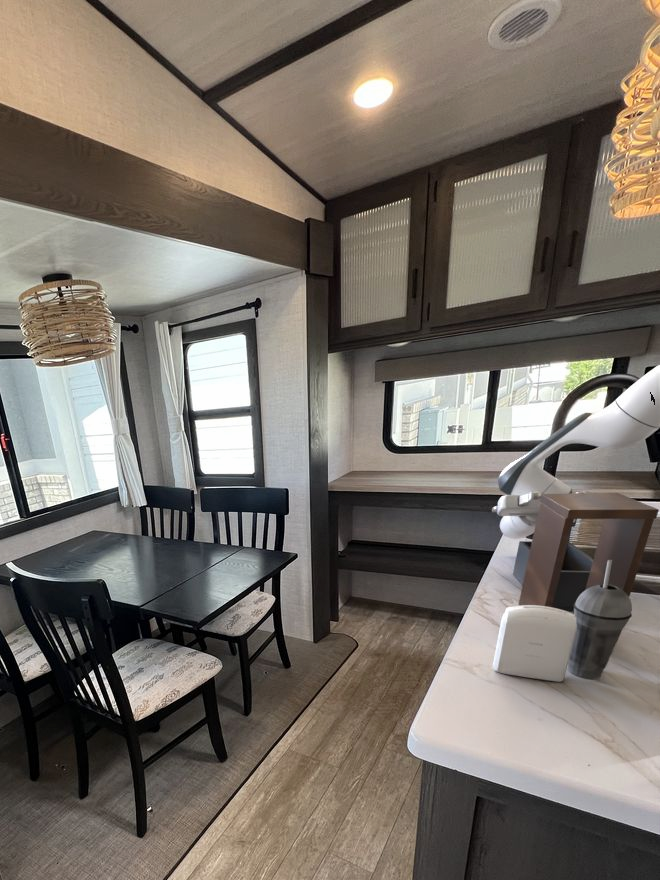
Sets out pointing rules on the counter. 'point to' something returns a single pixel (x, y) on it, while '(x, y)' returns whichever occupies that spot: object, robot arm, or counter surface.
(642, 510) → the shelf stand
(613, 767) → the counter surface
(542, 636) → the photo printer
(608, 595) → the beverage cup
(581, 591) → the trash bin
